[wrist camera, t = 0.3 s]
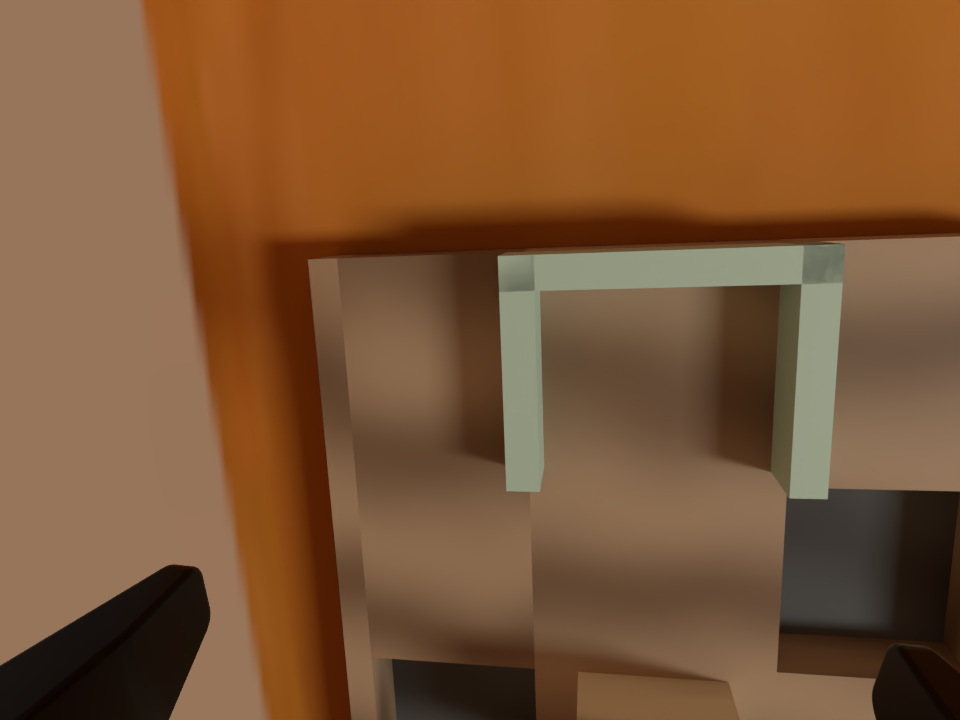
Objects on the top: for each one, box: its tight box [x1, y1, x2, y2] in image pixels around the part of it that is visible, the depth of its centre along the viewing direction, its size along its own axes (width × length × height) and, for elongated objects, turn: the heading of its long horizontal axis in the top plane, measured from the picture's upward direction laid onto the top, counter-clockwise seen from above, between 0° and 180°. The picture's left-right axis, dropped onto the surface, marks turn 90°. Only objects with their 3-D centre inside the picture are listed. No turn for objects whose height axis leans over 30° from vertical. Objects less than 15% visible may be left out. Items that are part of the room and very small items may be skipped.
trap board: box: [308, 233, 960, 720], centre depth 23 cm, size 24×22×2 cm
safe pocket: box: [498, 241, 845, 499], centre depth 19 cm, size 7×9×2 cm
